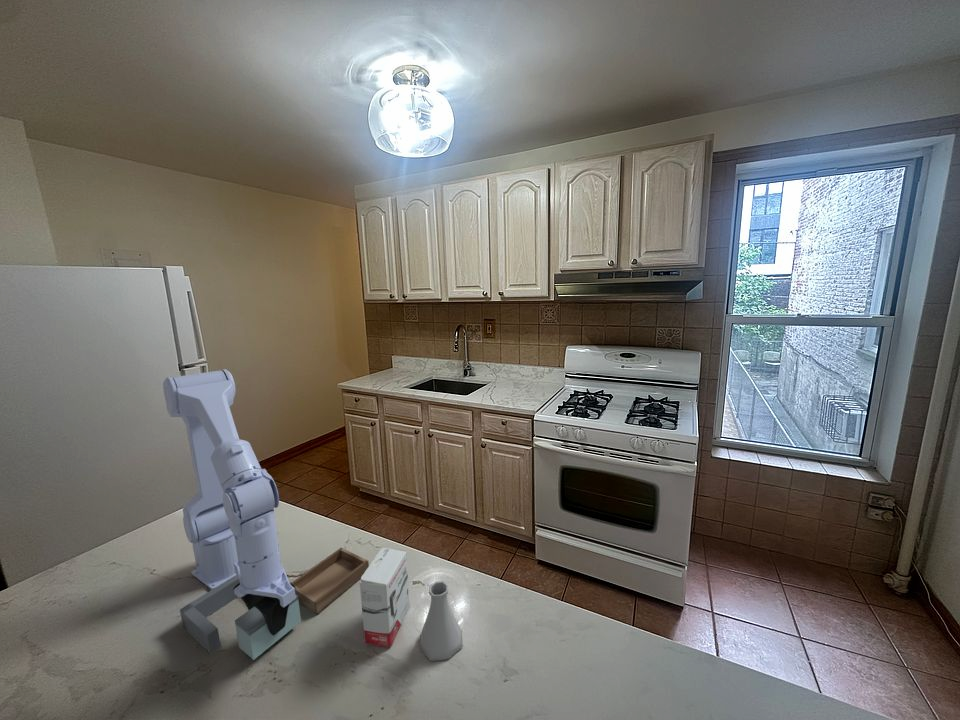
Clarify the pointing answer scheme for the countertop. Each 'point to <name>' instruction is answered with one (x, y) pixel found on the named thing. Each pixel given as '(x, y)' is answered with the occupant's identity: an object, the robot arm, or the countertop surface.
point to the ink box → (384, 596)
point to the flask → (440, 626)
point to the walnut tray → (329, 579)
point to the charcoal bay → (204, 607)
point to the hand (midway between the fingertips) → (269, 623)
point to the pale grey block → (262, 629)
